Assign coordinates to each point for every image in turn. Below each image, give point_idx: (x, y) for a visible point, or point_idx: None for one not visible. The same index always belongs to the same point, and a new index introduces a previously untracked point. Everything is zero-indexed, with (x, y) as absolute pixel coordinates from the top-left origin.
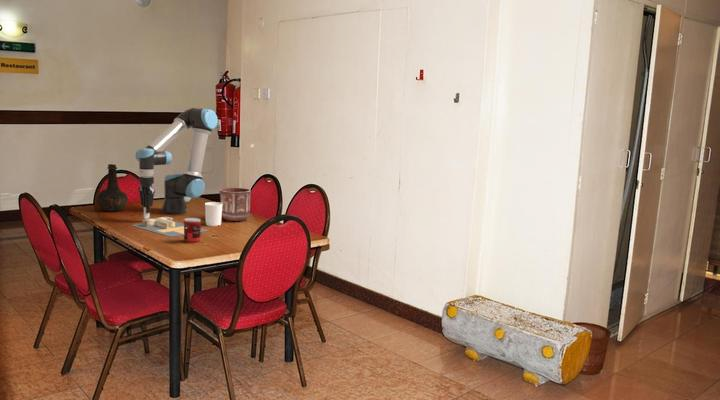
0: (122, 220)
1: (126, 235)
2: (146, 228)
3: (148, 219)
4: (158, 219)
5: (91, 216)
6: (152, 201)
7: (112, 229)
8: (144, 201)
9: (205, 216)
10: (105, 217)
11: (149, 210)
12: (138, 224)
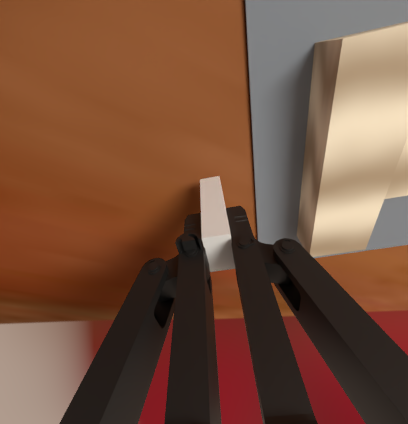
0: (129, 262)
1: (392, 308)
2: (371, 240)
3: (324, 227)
4: (379, 176)
5: (16, 316)
6: (341, 293)
7: (281, 315)
8: (212, 320)
9: None
10: (41, 291)
11: (247, 219)
12: (266, 240)
